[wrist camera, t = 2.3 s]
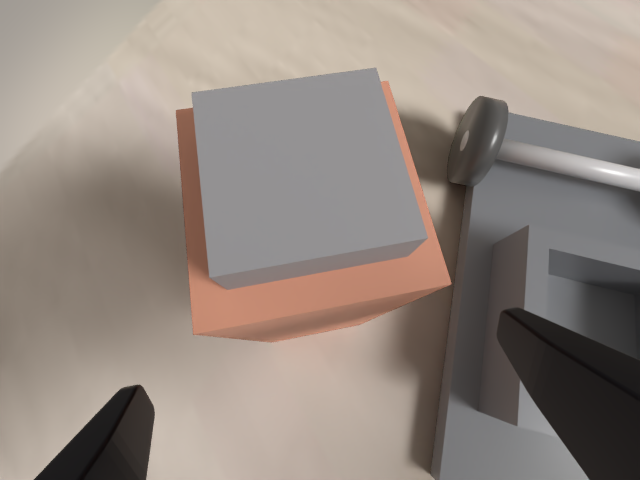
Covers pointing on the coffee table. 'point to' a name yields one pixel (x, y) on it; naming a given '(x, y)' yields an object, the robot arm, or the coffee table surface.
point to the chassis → (531, 279)
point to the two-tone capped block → (302, 208)
